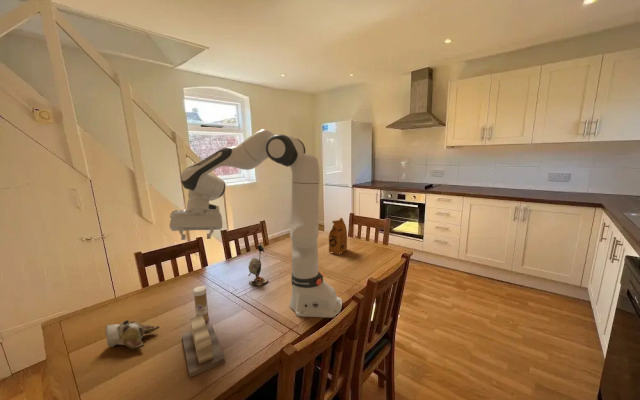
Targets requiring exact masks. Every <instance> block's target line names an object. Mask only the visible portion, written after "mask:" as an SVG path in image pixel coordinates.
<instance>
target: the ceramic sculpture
mask: <svg viewBox="0 0 640 400" xmlns="http://www.w3.org/2000/svg"><path fill="white" fill-rule="evenodd" d="M158 329H160V326H158V325H157V326H153V325H151V324H146V323H145V324H143V323H142V322H140V321H135V320H134V321H129V320H125V321H122V322H121V323H118V324H117V323H113V324H106V325H105V331H104V332H105V336H106V343H107V346H109V347H110V348H113V347H115V346H116V345H121V346H122V345H123V346H126V347H127V348H128V349H130V350H135V349H139V348H143V347H145V344H144V342H143V341H142V339H143V337H144V335H148V334H152V333H154V332H155V331H157V330H158Z"/></svg>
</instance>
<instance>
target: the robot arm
mask: <svg viewBox="0 0 640 400" xmlns="http://www.w3.org/2000/svg"><path fill="white" fill-rule="evenodd" d="M305 146H306V145H304V143H303V142H302V141H301V140H300V139H298V138H296V137H294V136H291V135H287V134H275V135H274V133H273V132H272V131H270V130H269V129H264V128H262V129H260V130H258V131H256V132H255V133H252V134H251V135H250V136H248V137H247V138H246V139H245V140H244V141H242V142H241V143H239V144H236V145H234V146H231V147H229V146H228V147H227V146H225V147H223V148H221V149H219V150H217V151H216V152H214V153H212V154H210V155H208V156H207V157H205V158H203V159H201V161H200V162H198V163H195V164H192V165H191V166H188V167H187V168H185V169H184V170H183V171H182V173H181V175H180V182H181V184H182V186H183V188H184V189H186V190H188V193H187V196H188V201H187V204H186V209H175V210H173V211H171V213H170V215H169V216H170V217H169V218H170V222H169V230H171V232H172V231H173V232H177V231H178V232H179V234H180V236H181V237H180V239H181V240H182V241H185V240H186V239H187V235H186V233H185V234H184V232H185V231H186V232H187V231H209V233H206V239H207V240H210V239H211V238H212V235H213V233H214V231H216V230H219V231H220V230H221V229H222V228H223V216H222V213H221V211H220V206H219V205H216V204H212V203H210V202H211V201H214V200H217V199H218V198H221V197H223V195H224V194H225V192H226V183H225V180H223V179H222V178H220V177H218V176H216V175H215V174H212V173H211V172H213V171H215V170H216V169H218V168H221V167H232V168H236V169H240V170H244V171H245V170H246V171H248V170H249V171H250V170H253V169H255V168H257V167H258V166H259V165H261V164H262V163H263V162H264V161H266V160H267V159H268V158H269V159H270V160H271V161H272V162H274V163H276V164H280V165H282V166H284V167H287V168H288V167H290V170H291V196H290V197H291V202H290V203H291V204H290V205H291V206H290V223H289V224H290V225H289V228H290V229H289V238H290V239H291V269H292V271H291V287H292V289H291V290H292V291H291V297H290V301H289V307H290V308H291V310H292V311H294V312H295V313H294V314H295V315H296V316H297V317H303V318H305V317H307V318H331V319H332V318H335V317H337V316H338V315H339V313H340V312H341V310H342V307H343V301H342V298H341V297H339V296H338V295H337V290H335V289H336V288H334V287H332V286H331V285H330V283H329V284H328V283H327V282H326V281H325V280H324V276H325V275H324V272H323V273H320V271H319V251H318V248H319V247H318V237H319V223H320V222H319V221H320V220H319V219H320V218H319V217H320V216H319V212H320V211H319V207H320V206H319V203H320V202H319V199H320V180H321V177H320V176H321V175H320V164H319V160H318V158H317V157H316V156H315V155H313V154H311V153H306V147H305ZM337 314H338V315H337ZM336 315H337V316H336Z"/></svg>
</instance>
